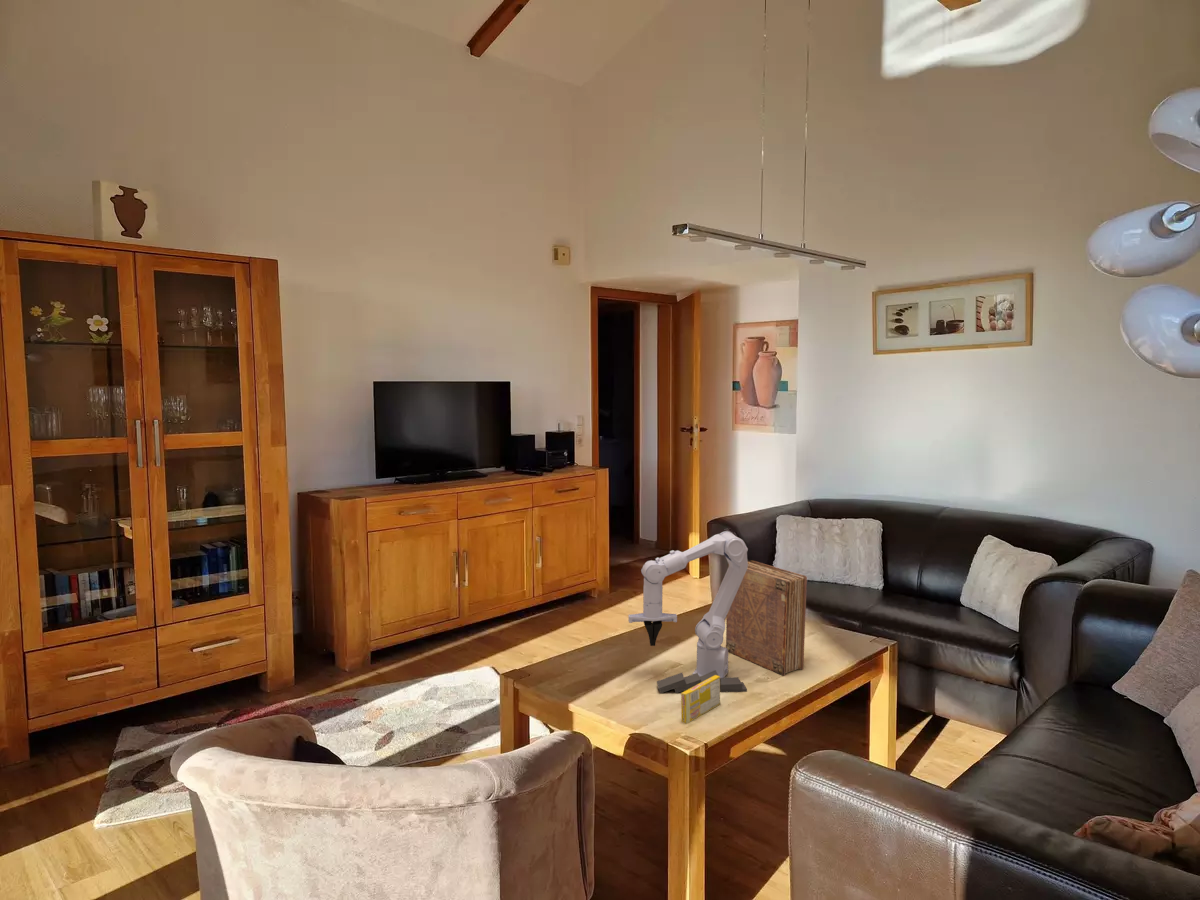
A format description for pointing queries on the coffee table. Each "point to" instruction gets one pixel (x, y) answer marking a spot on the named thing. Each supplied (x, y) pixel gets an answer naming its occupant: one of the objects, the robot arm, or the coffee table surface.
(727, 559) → the robot arm
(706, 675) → the domino
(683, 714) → the candy box
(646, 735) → the coffee table surface
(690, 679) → the domino
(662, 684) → the domino
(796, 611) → the book
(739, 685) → the domino
